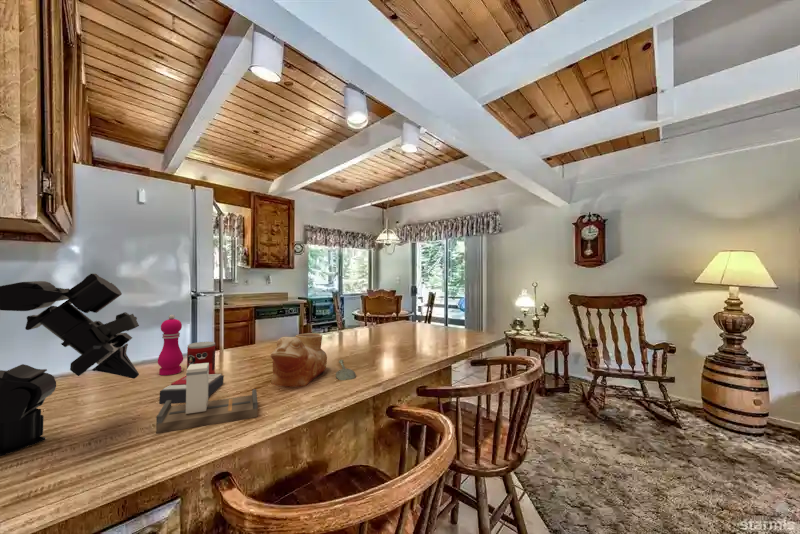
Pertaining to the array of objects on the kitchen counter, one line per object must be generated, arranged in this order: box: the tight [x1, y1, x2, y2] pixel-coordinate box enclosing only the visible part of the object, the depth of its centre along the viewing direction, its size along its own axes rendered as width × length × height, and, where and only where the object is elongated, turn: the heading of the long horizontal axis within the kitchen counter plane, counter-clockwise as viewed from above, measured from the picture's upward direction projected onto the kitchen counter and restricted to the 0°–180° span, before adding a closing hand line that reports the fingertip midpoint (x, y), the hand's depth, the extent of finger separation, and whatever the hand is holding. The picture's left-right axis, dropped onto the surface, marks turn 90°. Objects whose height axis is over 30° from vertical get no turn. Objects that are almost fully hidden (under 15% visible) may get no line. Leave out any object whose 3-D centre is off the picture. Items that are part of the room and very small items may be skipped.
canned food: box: [186, 341, 216, 374], centre depth 109 cm, size 8×8×11 cm
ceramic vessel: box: [270, 332, 328, 388], centre depth 110 cm, size 14×26×15 cm, turn 170°
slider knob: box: [185, 363, 209, 414], centre depth 79 cm, size 4×5×10 cm
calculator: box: [158, 373, 224, 405], centre depth 95 cm, size 11×4×15 cm
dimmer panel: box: [155, 388, 259, 434], centre depth 80 cm, size 20×10×4 cm, turn 115°
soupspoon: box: [335, 359, 356, 381], centre depth 118 cm, size 22×3×7 cm
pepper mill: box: [157, 314, 184, 376], centre depth 114 cm, size 7×7×20 cm
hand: (136, 376), depth 74 cm, fingers closed
